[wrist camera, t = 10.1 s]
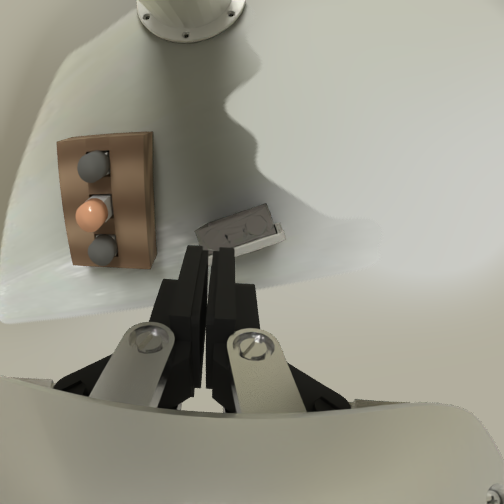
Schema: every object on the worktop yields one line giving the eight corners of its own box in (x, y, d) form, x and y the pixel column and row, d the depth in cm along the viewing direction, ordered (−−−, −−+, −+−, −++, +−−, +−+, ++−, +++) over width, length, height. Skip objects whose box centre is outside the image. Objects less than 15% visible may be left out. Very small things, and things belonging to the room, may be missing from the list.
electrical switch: (212, 250, 40) (204, 283, 32) (197, 214, 39) (184, 238, 30) (281, 227, 40) (292, 255, 31) (268, 189, 38) (276, 207, 29)
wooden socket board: (72, 137, 32) (56, 141, 28) (152, 131, 33) (143, 134, 29) (84, 251, 39) (73, 265, 36) (157, 254, 40) (150, 269, 37)
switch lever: (97, 146, 33) (76, 154, 27) (121, 144, 33) (102, 152, 28) (98, 171, 34) (78, 183, 29) (122, 170, 34) (104, 182, 29)
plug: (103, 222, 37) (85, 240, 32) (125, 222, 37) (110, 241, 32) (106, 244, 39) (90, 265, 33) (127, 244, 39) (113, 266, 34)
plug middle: (94, 188, 33) (73, 204, 28) (118, 188, 34) (99, 203, 29) (97, 213, 35) (77, 232, 30) (120, 213, 35) (103, 232, 30)
